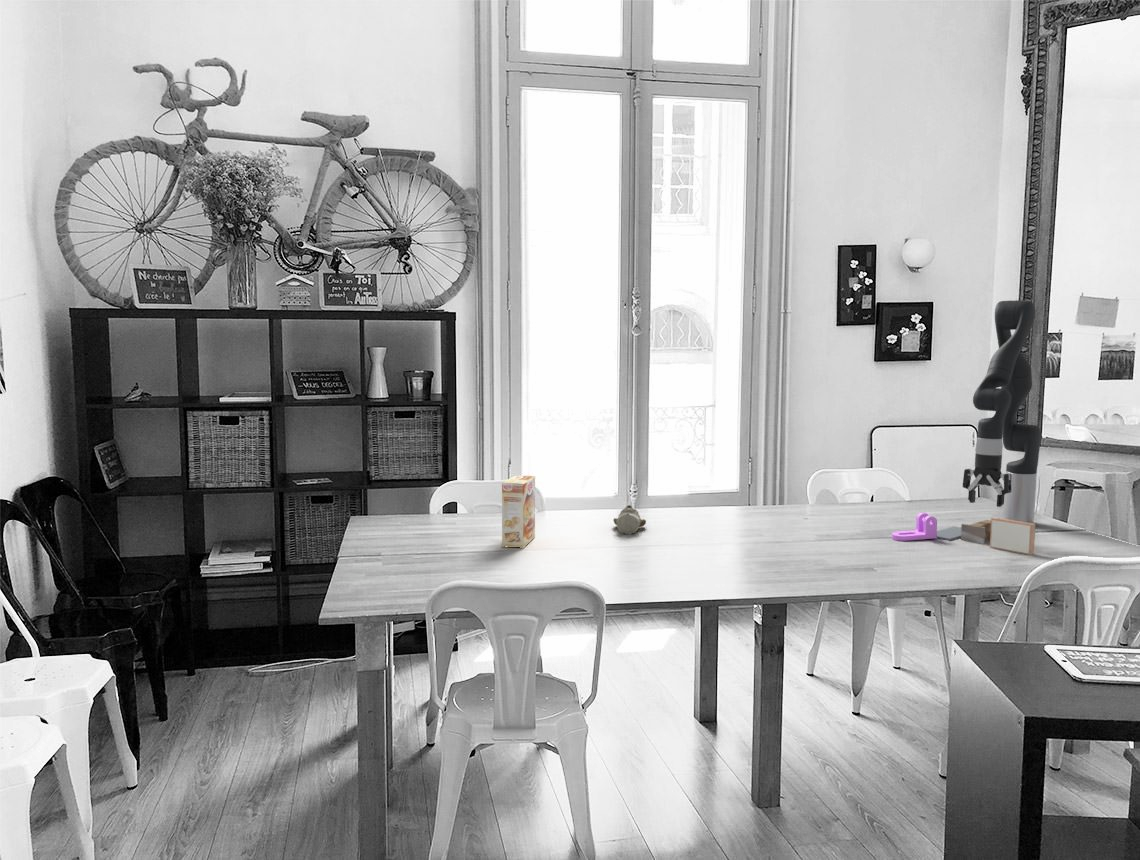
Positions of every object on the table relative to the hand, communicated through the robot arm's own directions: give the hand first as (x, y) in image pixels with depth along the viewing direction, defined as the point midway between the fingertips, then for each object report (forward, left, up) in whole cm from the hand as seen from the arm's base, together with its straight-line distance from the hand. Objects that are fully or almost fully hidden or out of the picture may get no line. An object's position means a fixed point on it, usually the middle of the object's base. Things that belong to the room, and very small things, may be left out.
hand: (985, 504), depth 291 cm
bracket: (+18, -14, -11) cm, 25 cm away
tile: (+10, +13, -11) cm, 19 cm away
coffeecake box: (+115, -88, -11) cm, 145 cm away
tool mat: (+3, -9, -11) cm, 14 cm away
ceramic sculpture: (+78, -78, -11) cm, 111 cm away
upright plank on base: (+2, 0, -11) cm, 11 cm away
